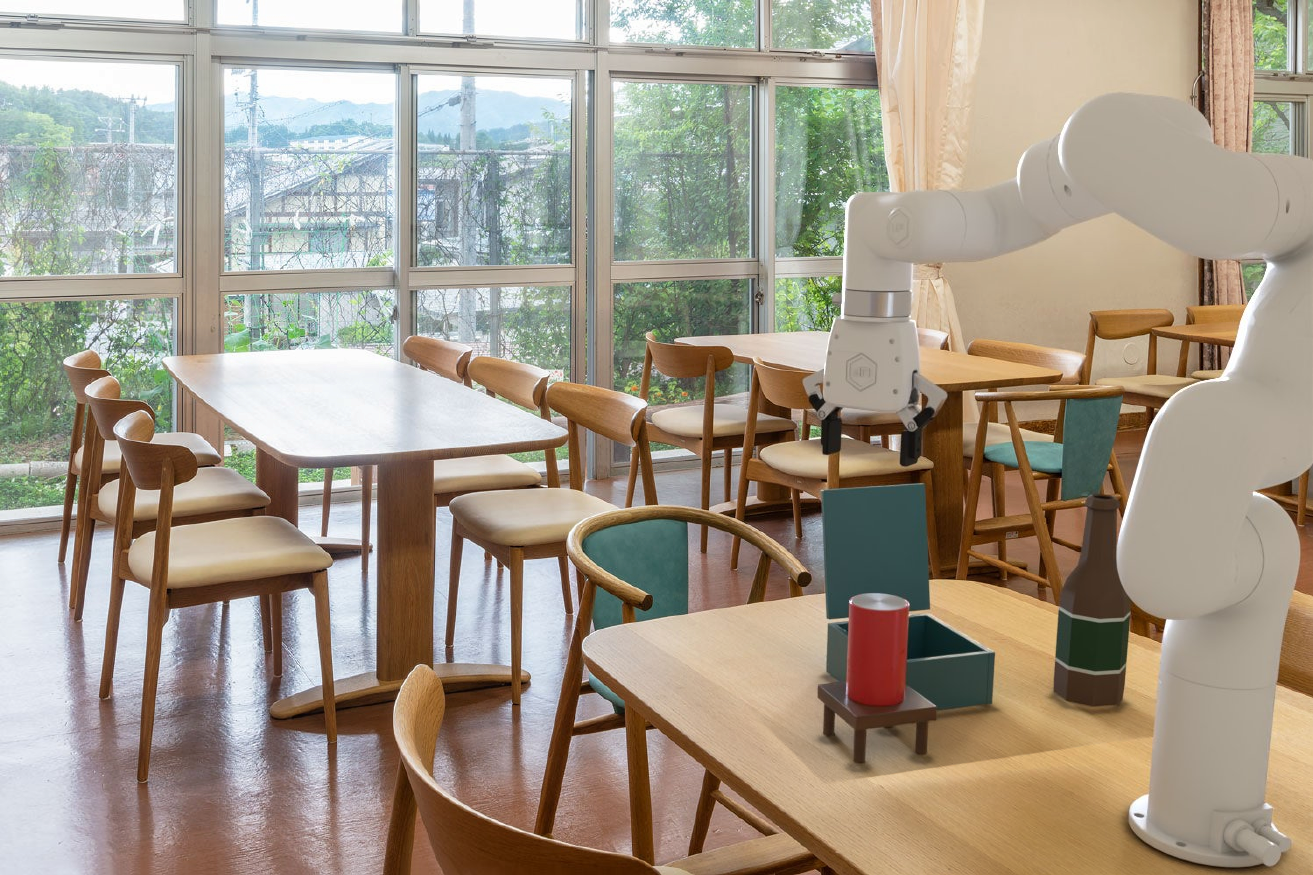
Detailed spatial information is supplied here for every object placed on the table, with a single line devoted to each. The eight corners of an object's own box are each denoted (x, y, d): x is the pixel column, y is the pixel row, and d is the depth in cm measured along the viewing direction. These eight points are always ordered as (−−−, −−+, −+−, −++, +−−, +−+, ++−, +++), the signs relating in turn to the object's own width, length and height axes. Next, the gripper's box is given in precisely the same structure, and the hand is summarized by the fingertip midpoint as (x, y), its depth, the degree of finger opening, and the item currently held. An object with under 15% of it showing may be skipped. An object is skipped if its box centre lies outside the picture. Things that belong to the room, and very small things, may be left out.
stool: (934, 762, 129) (937, 706, 128) (854, 773, 126) (856, 716, 125) (891, 727, 138) (893, 675, 136) (815, 737, 135) (817, 684, 134)
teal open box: (991, 709, 143) (995, 652, 142) (883, 723, 139) (886, 664, 137) (926, 665, 156) (928, 612, 155) (825, 677, 152) (827, 622, 151)
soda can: (915, 702, 129) (920, 607, 127) (862, 708, 127) (866, 612, 125) (887, 681, 135) (891, 590, 133) (836, 687, 133) (839, 595, 131)
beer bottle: (1128, 716, 141) (1145, 506, 137) (1056, 709, 143) (1070, 502, 139) (1118, 690, 149) (1134, 490, 145) (1049, 684, 150) (1062, 487, 146)
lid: (925, 483, 155) (921, 483, 155) (823, 490, 150) (820, 489, 151) (930, 609, 155) (927, 608, 156) (829, 619, 151) (826, 618, 151)
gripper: (790, 303, 142) (785, 453, 145) (934, 313, 131) (925, 475, 135) (824, 299, 147) (818, 444, 151) (964, 309, 137) (955, 463, 140)
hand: (869, 458), depth 143 cm, fingers open, 9 cm apart
